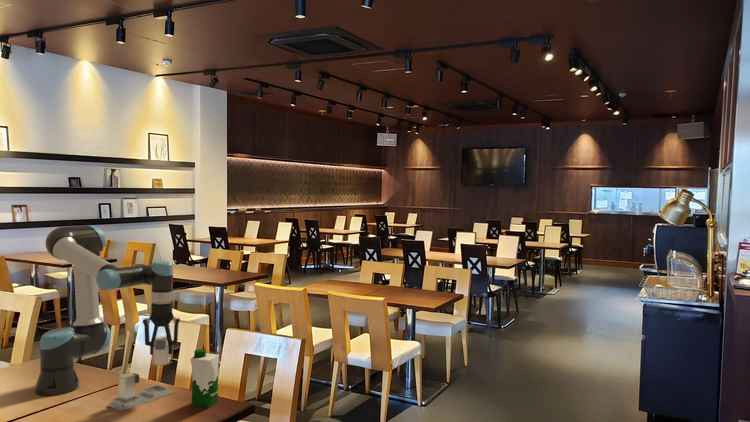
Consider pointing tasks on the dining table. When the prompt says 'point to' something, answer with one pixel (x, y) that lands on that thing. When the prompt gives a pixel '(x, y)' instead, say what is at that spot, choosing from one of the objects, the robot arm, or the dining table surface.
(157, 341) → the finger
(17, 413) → the dining table surface
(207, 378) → the milk carton
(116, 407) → the rail
